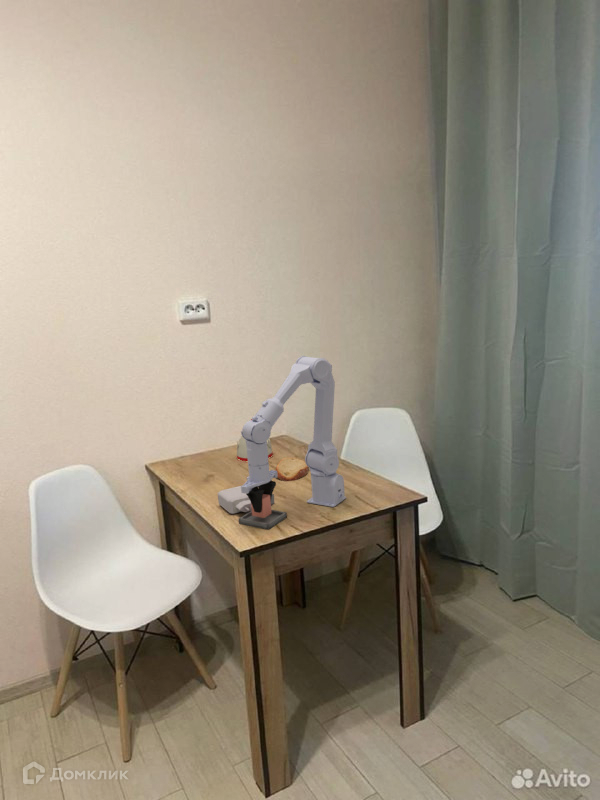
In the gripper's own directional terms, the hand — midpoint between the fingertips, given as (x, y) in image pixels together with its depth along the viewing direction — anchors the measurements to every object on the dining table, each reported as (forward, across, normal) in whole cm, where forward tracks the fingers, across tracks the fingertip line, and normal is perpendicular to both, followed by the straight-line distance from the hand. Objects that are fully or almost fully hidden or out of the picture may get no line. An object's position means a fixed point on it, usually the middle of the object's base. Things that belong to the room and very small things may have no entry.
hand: (262, 509), depth 164 cm
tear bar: (+3, -9, -5) cm, 11 cm away
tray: (+3, 0, 0) cm, 3 cm away
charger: (+4, -4, -11) cm, 12 cm away
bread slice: (+4, -40, -17) cm, 43 cm away
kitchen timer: (+4, -49, -40) cm, 63 cm away
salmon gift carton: (+2, 0, 0) cm, 2 cm away
